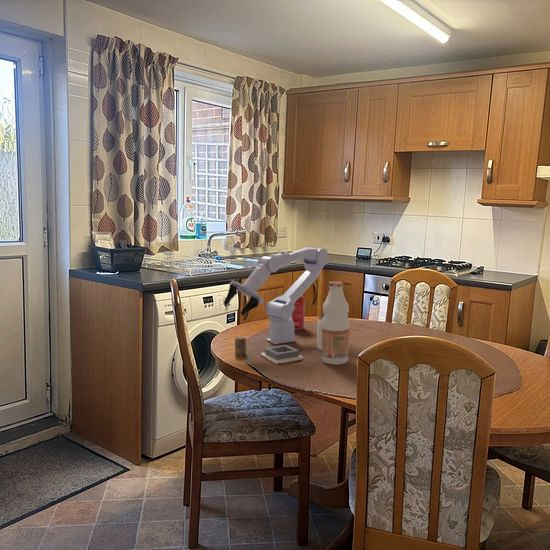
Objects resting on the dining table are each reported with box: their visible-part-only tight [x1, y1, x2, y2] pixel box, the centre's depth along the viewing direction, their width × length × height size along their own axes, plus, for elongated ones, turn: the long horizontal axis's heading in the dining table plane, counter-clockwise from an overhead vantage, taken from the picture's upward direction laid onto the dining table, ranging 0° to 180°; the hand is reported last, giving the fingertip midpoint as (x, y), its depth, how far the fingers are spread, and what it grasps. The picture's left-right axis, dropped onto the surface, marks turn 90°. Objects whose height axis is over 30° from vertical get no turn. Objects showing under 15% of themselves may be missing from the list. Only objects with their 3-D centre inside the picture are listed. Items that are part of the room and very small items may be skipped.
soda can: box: [290, 294, 306, 332], centre depth 232 cm, size 8×8×15 cm
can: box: [316, 315, 324, 351], centre depth 203 cm, size 6×6×12 cm
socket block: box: [260, 344, 304, 365], centre depth 193 cm, size 11×11×3 cm
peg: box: [234, 336, 247, 357], centre depth 196 cm, size 4×4×6 cm
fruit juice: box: [321, 281, 350, 366], centre depth 187 cm, size 9×9×28 cm
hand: (233, 308), depth 197 cm, fingers open, 7 cm apart
